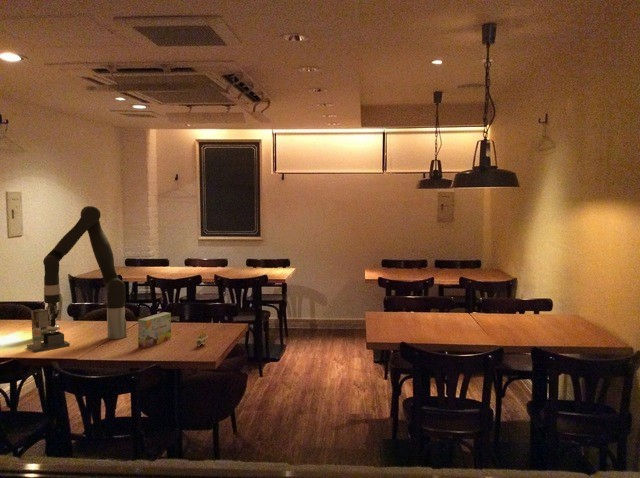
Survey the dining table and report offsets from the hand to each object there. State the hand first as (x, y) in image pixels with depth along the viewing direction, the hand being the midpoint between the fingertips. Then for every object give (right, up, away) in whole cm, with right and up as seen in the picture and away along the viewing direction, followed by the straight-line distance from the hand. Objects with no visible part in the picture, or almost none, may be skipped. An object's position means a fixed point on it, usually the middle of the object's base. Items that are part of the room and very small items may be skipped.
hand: (52, 325), depth 271 cm
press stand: (-2, -11, -1) cm, 11 cm away
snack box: (+52, -11, +7) cm, 53 cm away
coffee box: (-14, -10, +15) cm, 23 cm away
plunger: (-2, -4, -2) cm, 5 cm away
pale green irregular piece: (+78, -12, +3) cm, 79 cm away
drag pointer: (-5, -4, -5) cm, 8 cm away
